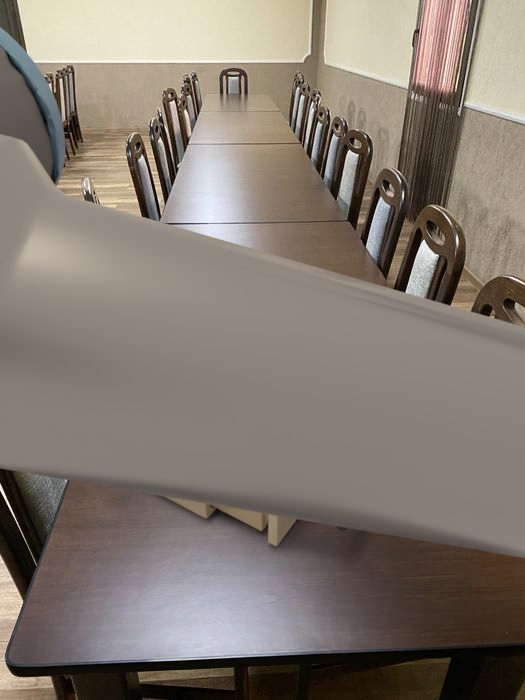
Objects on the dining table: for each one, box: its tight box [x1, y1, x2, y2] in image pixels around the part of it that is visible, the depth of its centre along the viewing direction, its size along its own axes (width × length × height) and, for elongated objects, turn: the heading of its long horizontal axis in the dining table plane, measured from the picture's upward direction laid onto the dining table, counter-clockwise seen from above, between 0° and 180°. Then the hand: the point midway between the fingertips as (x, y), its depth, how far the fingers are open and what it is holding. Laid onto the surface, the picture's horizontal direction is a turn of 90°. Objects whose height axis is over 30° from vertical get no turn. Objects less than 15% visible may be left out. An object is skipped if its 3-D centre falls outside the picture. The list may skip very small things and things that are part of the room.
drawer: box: [210, 504, 349, 547], centre depth 67 cm, size 22×12×8 cm, turn 58°
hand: (265, 317), depth 57 cm, fingers open, 13 cm apart
